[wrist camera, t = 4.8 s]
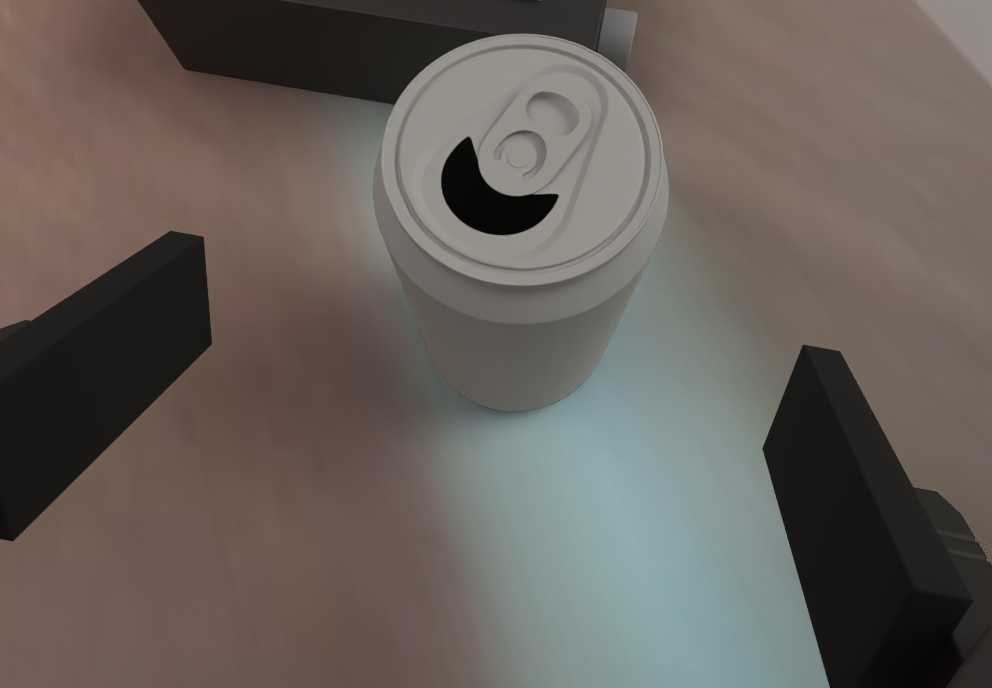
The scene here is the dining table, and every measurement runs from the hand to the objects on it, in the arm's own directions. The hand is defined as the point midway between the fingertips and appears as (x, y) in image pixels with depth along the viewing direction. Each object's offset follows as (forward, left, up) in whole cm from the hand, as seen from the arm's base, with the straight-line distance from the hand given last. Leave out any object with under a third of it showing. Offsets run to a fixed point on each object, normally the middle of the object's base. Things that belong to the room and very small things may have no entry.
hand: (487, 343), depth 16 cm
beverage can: (0, -3, -10) cm, 10 cm away
